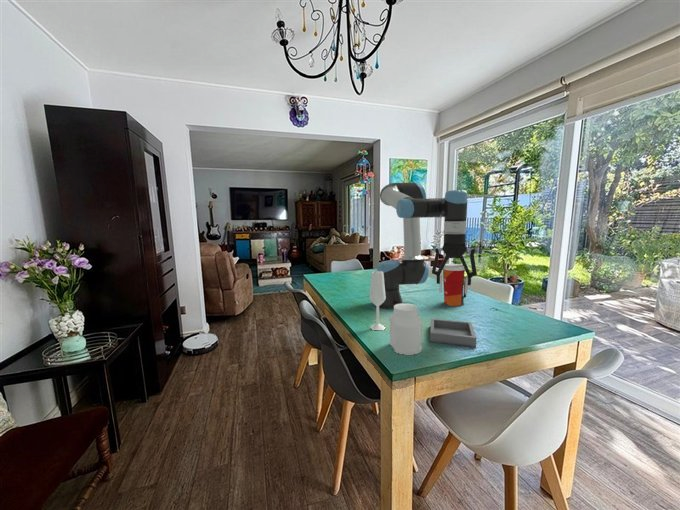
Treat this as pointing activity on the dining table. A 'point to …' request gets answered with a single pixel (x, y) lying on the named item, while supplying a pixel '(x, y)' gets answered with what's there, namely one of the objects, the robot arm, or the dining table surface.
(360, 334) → the dining table surface
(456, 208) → the robot arm
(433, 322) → the bin
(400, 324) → the jar
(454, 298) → the coffee cup
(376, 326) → the champagne flute
